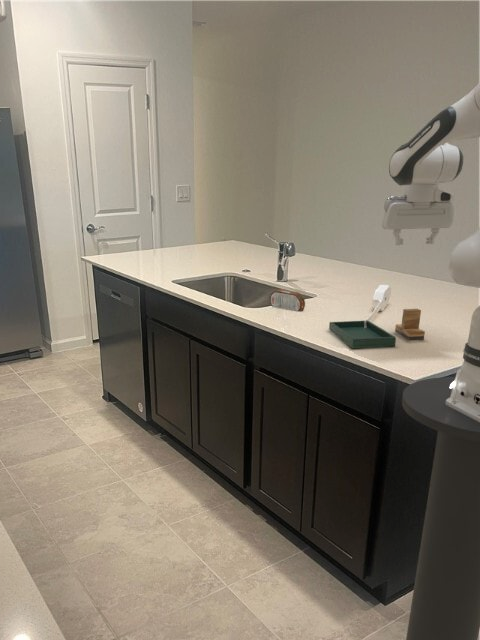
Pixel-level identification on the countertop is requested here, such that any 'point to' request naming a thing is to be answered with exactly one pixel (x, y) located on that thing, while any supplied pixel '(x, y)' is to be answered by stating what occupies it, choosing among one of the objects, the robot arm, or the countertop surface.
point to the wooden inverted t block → (410, 325)
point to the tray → (362, 334)
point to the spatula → (379, 301)
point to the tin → (287, 300)
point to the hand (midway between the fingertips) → (414, 244)
